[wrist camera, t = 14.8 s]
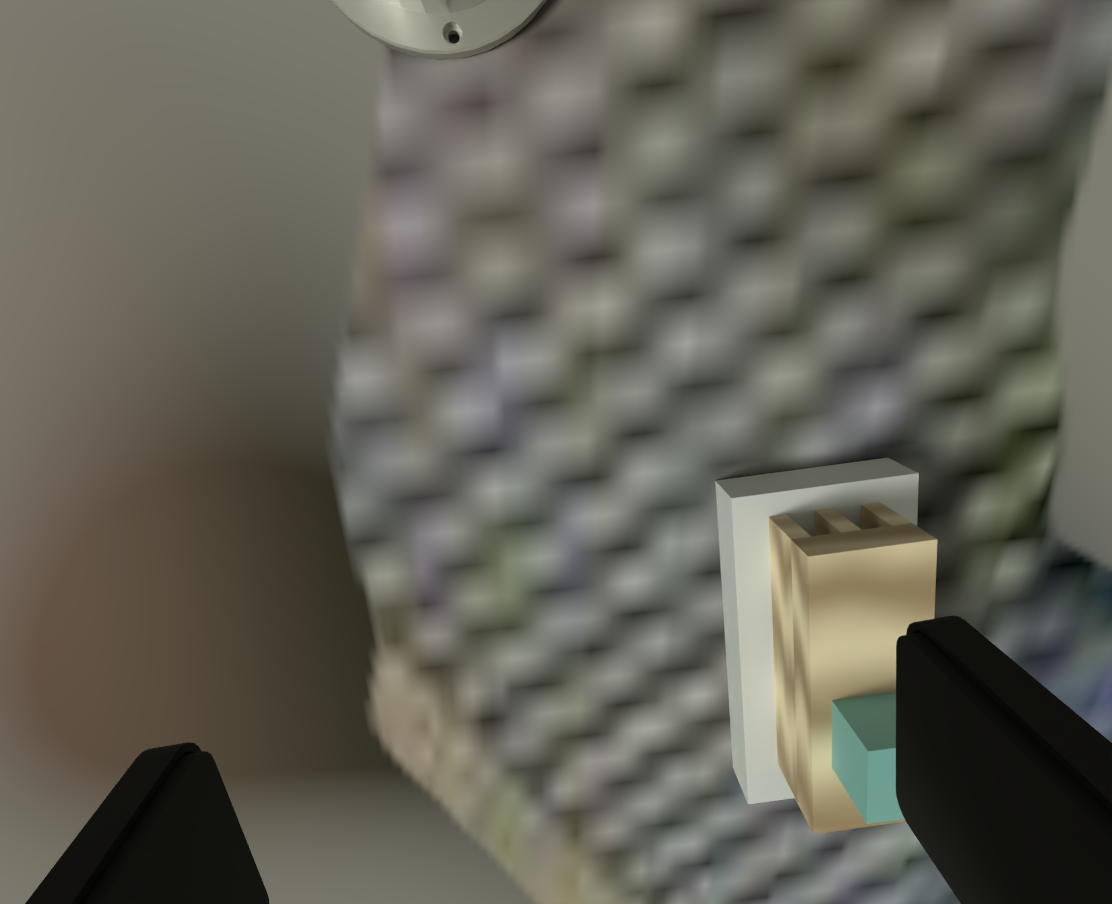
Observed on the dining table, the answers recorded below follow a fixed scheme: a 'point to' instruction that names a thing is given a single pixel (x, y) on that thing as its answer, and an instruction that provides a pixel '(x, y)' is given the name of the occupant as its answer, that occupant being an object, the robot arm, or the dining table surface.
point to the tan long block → (839, 636)
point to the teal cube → (867, 754)
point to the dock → (750, 588)
